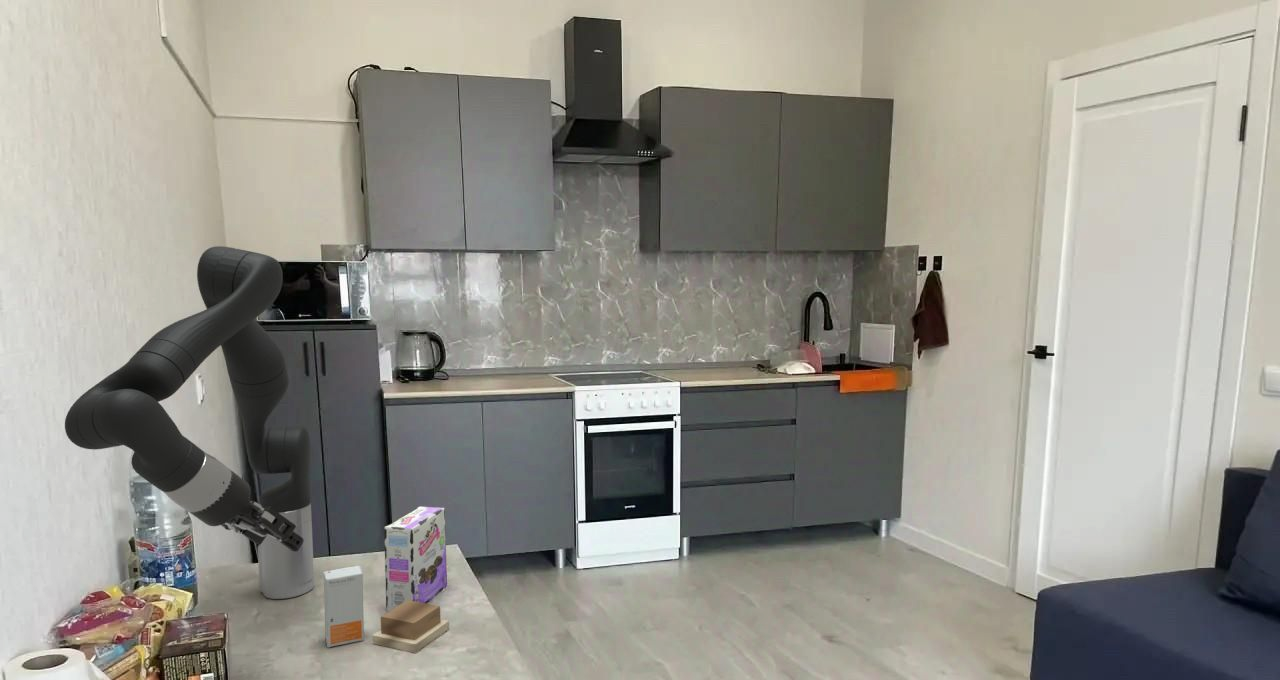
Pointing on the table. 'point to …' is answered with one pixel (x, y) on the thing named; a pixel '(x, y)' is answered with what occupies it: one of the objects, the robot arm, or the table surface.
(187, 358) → the robot arm
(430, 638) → the plinth
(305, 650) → the table surface
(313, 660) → the table surface
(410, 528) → the candy box
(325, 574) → the skincare box
